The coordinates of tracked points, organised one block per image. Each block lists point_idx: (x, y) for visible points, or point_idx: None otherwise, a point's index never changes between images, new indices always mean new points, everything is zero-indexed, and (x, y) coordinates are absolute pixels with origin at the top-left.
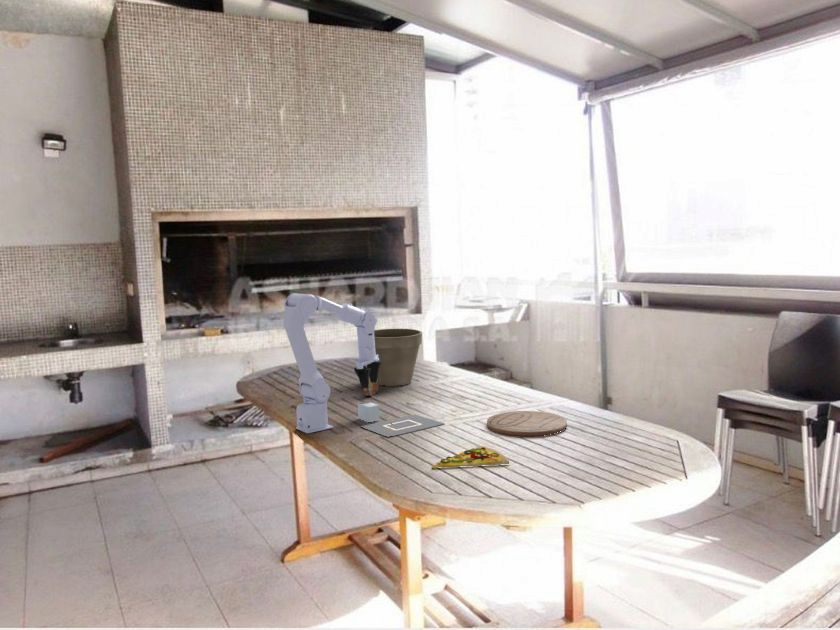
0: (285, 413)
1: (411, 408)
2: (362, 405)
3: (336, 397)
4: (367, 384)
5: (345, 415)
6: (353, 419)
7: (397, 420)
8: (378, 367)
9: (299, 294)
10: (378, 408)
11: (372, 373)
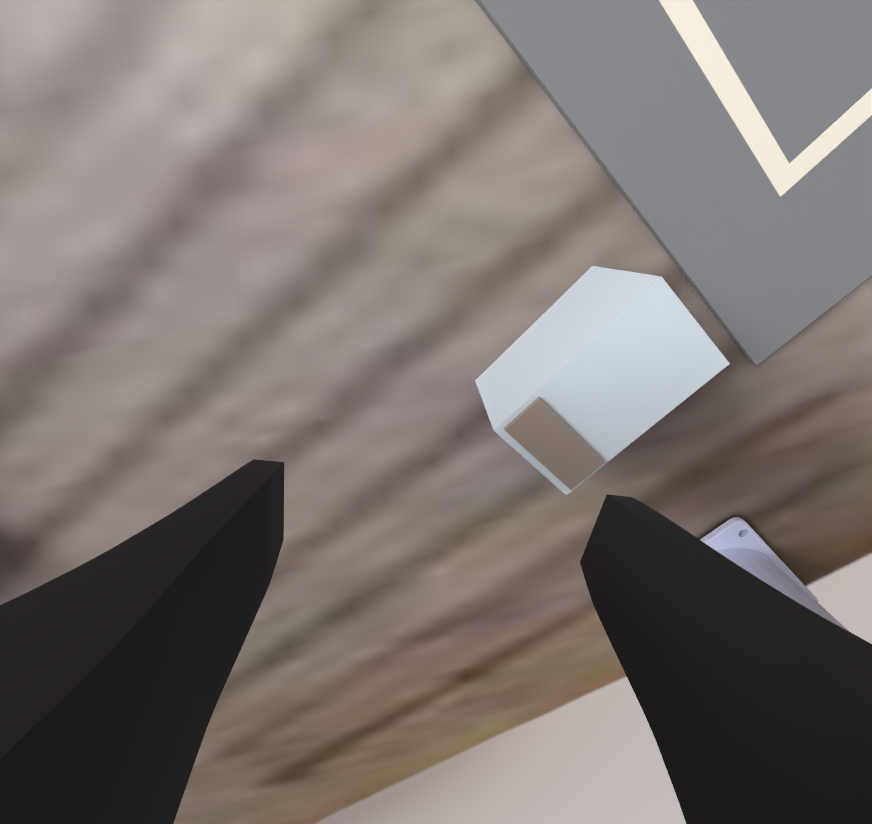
0: (417, 765)
1: (132, 26)
2: (632, 438)
3: None
4: (680, 530)
5: (441, 527)
6: None
7: (634, 81)
8: (33, 708)
9: None
10: (645, 278)
11: (209, 649)
